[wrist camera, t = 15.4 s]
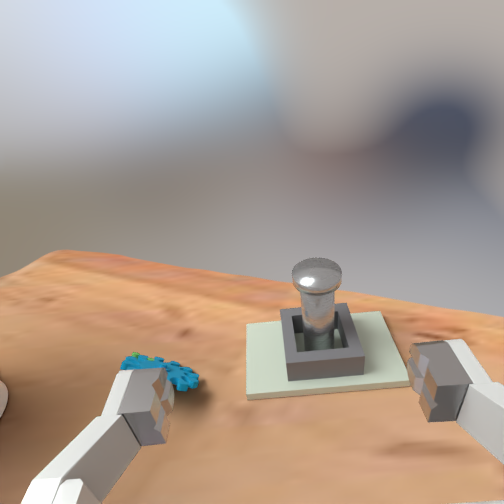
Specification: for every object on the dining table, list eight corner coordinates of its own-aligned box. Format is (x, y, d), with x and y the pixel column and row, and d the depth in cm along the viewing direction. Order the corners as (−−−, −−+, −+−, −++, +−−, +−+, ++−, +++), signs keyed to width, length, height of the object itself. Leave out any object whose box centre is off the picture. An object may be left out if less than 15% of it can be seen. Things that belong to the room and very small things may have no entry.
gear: (216, 378, 45) (152, 380, 37) (203, 424, 44) (135, 435, 37) (167, 349, 52) (105, 346, 45) (155, 388, 52) (90, 391, 44)
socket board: (247, 400, 44) (242, 376, 41) (247, 329, 54) (243, 307, 51) (410, 386, 42) (415, 360, 40) (379, 316, 52) (381, 292, 50)
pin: (301, 367, 45) (294, 289, 38) (296, 335, 50) (289, 260, 42) (344, 364, 45) (346, 284, 37) (335, 331, 49) (335, 255, 42)
